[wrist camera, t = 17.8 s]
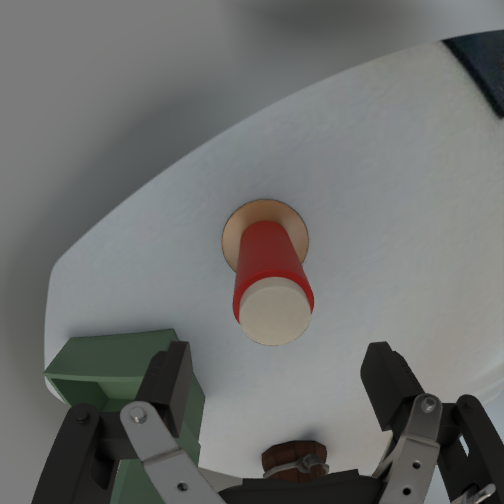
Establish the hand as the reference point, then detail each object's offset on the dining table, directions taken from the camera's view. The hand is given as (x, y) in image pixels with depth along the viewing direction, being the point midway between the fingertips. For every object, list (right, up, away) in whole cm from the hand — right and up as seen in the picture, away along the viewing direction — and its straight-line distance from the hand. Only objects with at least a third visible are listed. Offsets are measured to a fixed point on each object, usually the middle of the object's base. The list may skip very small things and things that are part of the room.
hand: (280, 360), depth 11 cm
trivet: (0, +6, +15) cm, 16 cm away
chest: (-17, -11, +21) cm, 29 cm away
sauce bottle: (0, +5, +14) cm, 15 cm away
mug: (+7, -30, +28) cm, 42 cm away
